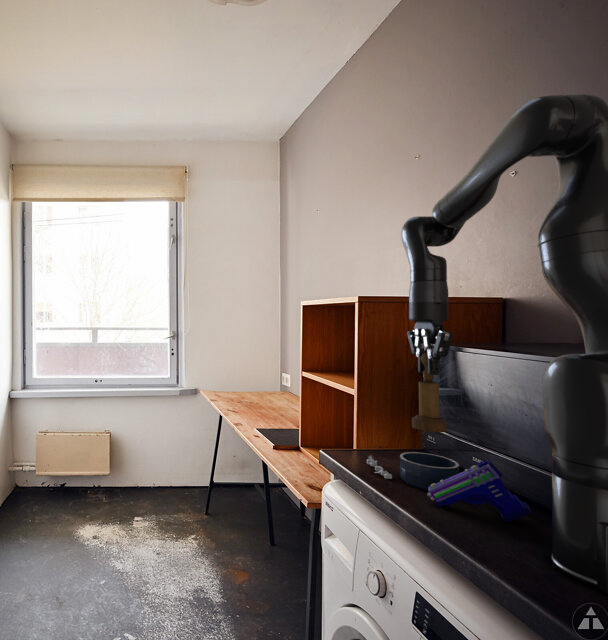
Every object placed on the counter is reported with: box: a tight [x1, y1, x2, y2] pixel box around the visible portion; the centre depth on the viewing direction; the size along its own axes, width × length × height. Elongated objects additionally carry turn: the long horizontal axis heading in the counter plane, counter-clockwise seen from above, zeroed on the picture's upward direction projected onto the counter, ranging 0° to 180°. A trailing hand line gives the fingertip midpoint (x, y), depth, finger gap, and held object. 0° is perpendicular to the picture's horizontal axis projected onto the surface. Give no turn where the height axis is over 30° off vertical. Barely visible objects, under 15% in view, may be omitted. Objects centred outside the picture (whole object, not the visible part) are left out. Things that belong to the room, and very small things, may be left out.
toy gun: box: [427, 459, 532, 523], centre depth 82 cm, size 4×13×10 cm
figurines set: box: [366, 454, 393, 480], centre depth 105 cm, size 12×3×3 cm, turn 170°
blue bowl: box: [399, 451, 460, 491], centre depth 97 cm, size 11×11×6 cm
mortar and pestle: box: [411, 353, 448, 433], centre depth 97 cm, size 7×6×18 cm
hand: (428, 373), depth 97 cm, fingers closed on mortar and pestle, 3 cm apart
